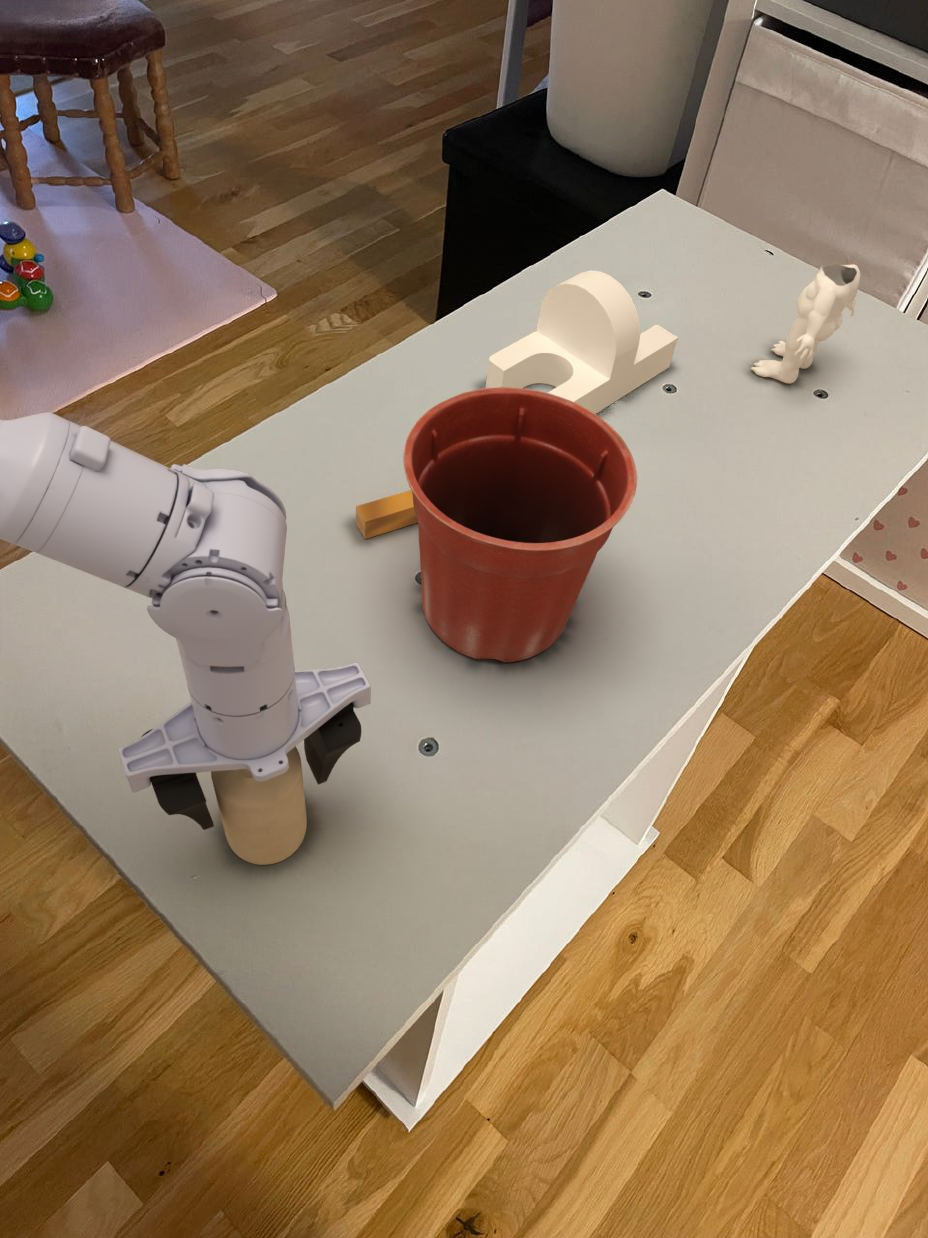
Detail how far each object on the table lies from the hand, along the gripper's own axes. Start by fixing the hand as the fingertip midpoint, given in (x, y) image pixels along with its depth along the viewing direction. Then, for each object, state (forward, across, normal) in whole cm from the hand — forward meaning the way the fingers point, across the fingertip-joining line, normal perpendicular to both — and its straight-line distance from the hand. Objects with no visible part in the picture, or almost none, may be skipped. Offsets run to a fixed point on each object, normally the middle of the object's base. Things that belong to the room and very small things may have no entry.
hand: (261, 792), depth 64 cm
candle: (+5, 0, 0) cm, 5 cm away
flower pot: (+5, +24, +11) cm, 27 cm away
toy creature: (+6, +68, +27) cm, 73 cm away
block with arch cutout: (+5, +46, +34) cm, 57 cm away
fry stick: (+5, +24, +23) cm, 34 cm away
